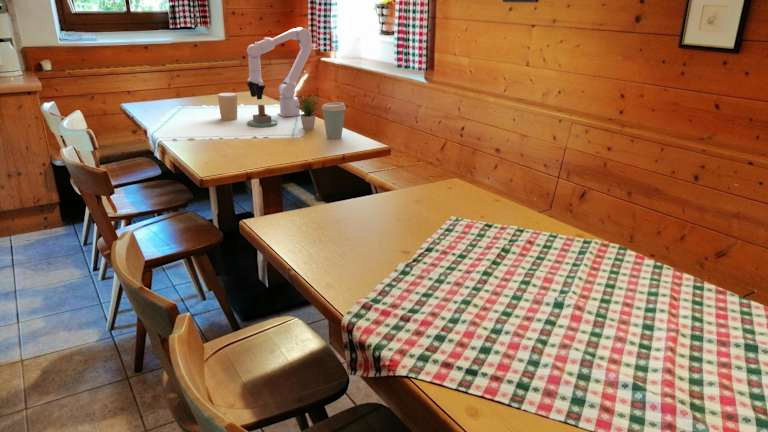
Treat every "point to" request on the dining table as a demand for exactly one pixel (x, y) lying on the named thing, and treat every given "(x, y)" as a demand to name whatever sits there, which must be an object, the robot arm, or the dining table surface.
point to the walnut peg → (261, 110)
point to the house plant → (308, 112)
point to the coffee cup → (228, 106)
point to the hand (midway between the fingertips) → (256, 98)
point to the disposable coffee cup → (334, 119)
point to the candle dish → (262, 121)
